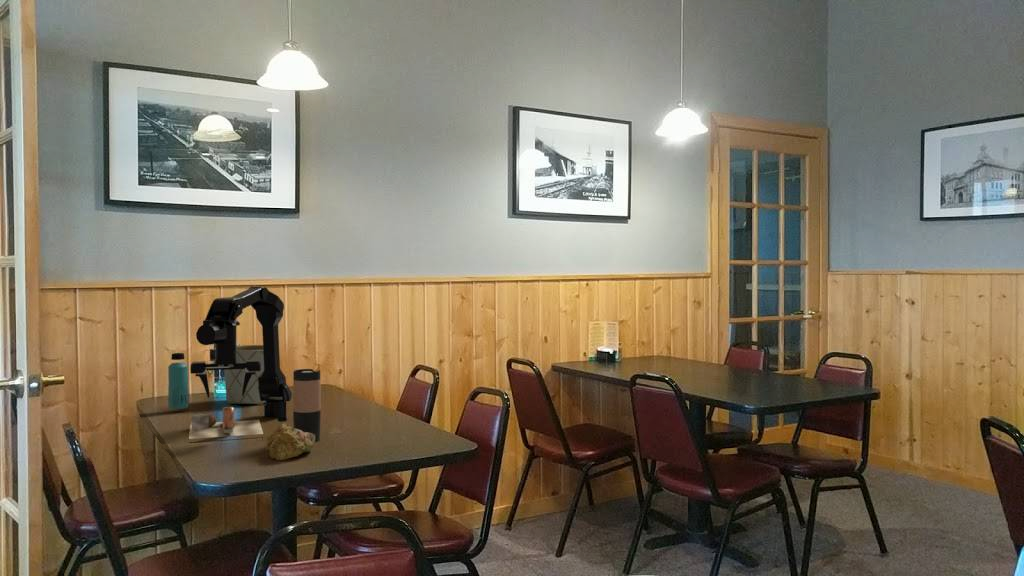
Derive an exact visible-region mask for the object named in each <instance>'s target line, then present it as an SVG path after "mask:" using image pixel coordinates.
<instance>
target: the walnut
mask: <svg viewBox="0 0 1024 576" xmlns="http://www.w3.org/2000/svg"><path fill="white" fill-rule="evenodd" d="M208 415H209V427H212V426H214V425H215V424H216V422H217V418H216V416H215V415H213V414H208Z"/></svg>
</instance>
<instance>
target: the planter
mask: <svg viewBox="0 0 1024 576" xmlns="http://www.w3.org/2000/svg"><path fill="white" fill-rule="evenodd" d="M246 360H258V361H259V362H260V364H261V371H255V372H256V374H253V375H252V376H251V378H250V380H249V382H248V384H247V387H246V390H245V393H244V396H242V386H243V379H244V370H245V369H230V370H223V372H224V383H225V385H224V387H225V398H226V399H225V400H226V403H227V404H228V405H234V404H236V405H237V404H239V405H240V404H241V405H242V404H244V405H245V404H246V405H259V406H262V405H265V404H266V401H261V400H260V395H259V390H258V386H259V384H258V378H259V377H261V375H262V374H263V372H264V356H263V344H250V345H249V344H248V345H247V344H243V345H236V363H245V362H246ZM232 365H233V364H232ZM230 367H231V366H230ZM232 367H234V366H232Z"/></svg>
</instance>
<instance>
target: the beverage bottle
mask: <svg viewBox="0 0 1024 576" xmlns="http://www.w3.org/2000/svg"><path fill="white" fill-rule="evenodd" d="M170 360H173V361H174V360H175V361H180V360H186V359H185V352H184V353H183V352H174V353H171V359H170ZM167 368H168V373H167V374H168V387H167V388H168V389H167V390H168V391H167V394H168V408H169V409H172V410H173V409H174V410H181V409H182V410H183V409H187V408H188V407H189V401H190V396H189V383H190V382H189V365H188V364H187V363H185V362H172V363H170V364H169V365H168V366H167Z"/></svg>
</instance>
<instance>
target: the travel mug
mask: <svg viewBox="0 0 1024 576" xmlns="http://www.w3.org/2000/svg"><path fill="white" fill-rule="evenodd" d="M292 373H293V377H292V378H293V379H292V380H293V383H292V384H293V385H292V386H293V390H292V391H293V393H292V399H293V400H292V403H293V404H292V412H293V413H292V416H293V418H292V420H293V421H292V422H293V428H295V429H299V430H302V431H304V432H309V433H312V434H314V435H315V442H316V443H317V442H318V441H320V439H321V418H322V417H321V414H322V413H321V412H322V411H321V410H322V407H321V406H322V403H321V402H322V401H321V397H322V395H321V393H322V392H321V388H322V387H321V386H322V385H321V370H320V369H318V370H317V371H316V370H314V369H312V368H304V369H303V368H302V369H300V368H299V369H294V370H293V372H292ZM315 442H314V443H315Z"/></svg>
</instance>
